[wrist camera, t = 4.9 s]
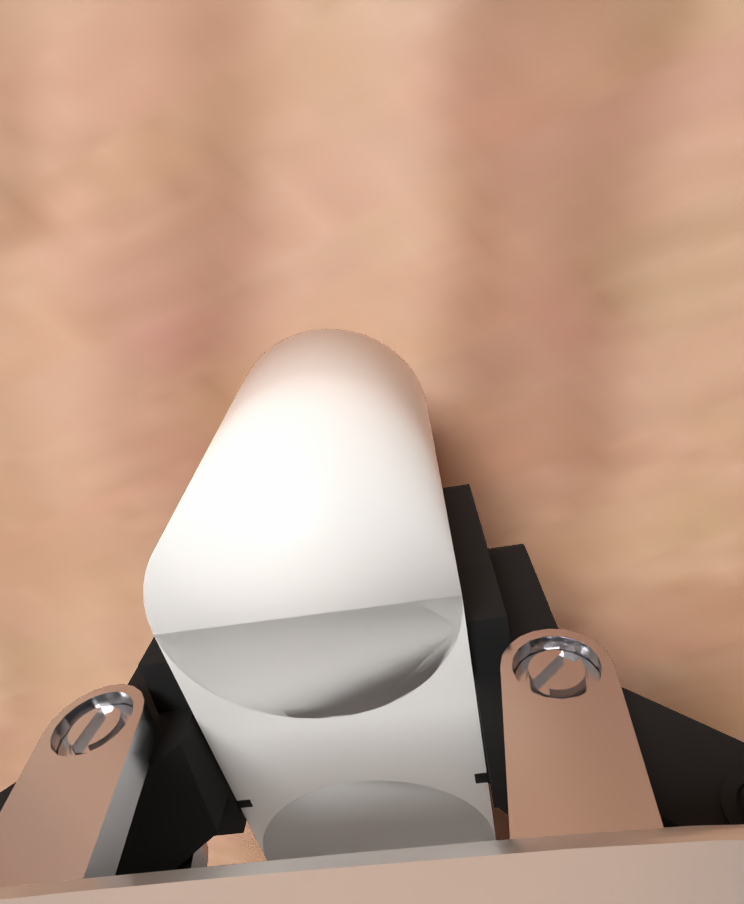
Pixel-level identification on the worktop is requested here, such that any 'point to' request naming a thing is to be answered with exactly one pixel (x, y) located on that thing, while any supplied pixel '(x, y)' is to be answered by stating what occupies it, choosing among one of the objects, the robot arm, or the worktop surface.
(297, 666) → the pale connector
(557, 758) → the robot arm
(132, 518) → the worktop surface
